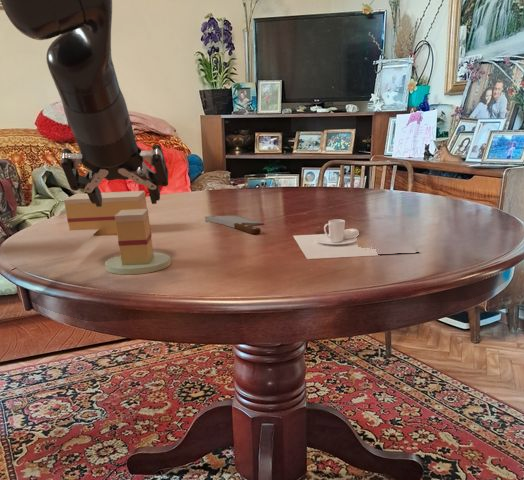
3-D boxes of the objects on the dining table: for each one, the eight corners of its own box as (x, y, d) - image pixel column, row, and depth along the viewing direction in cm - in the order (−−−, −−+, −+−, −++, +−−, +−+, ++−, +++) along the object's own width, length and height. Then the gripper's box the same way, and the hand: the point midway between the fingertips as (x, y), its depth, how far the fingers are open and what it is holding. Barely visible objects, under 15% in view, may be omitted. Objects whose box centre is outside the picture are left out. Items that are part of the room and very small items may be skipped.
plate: (99, 276, 82) (98, 270, 82) (112, 259, 92) (111, 254, 92) (168, 272, 83) (167, 266, 82) (173, 256, 93) (172, 250, 92)
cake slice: (121, 265, 84) (114, 215, 81) (127, 256, 90) (120, 209, 86) (149, 263, 84) (143, 214, 81) (153, 255, 90) (148, 208, 87)
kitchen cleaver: (285, 227, 111) (244, 230, 106) (285, 231, 111) (244, 235, 107) (238, 213, 131) (201, 215, 126) (238, 217, 131) (202, 220, 127)
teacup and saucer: (355, 236, 102) (356, 216, 101) (365, 245, 95) (366, 223, 93) (312, 238, 102) (312, 218, 100) (319, 247, 95) (319, 225, 93)
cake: (70, 236, 113) (63, 199, 110) (81, 228, 122) (75, 193, 119) (143, 233, 114) (138, 196, 111) (149, 225, 123) (144, 190, 120)
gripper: (155, 96, 67) (171, 179, 82) (45, 100, 66) (82, 183, 81) (156, 141, 64) (172, 218, 79) (40, 146, 63) (79, 223, 79)
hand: (126, 200), depth 80 cm, fingers open, 8 cm apart
